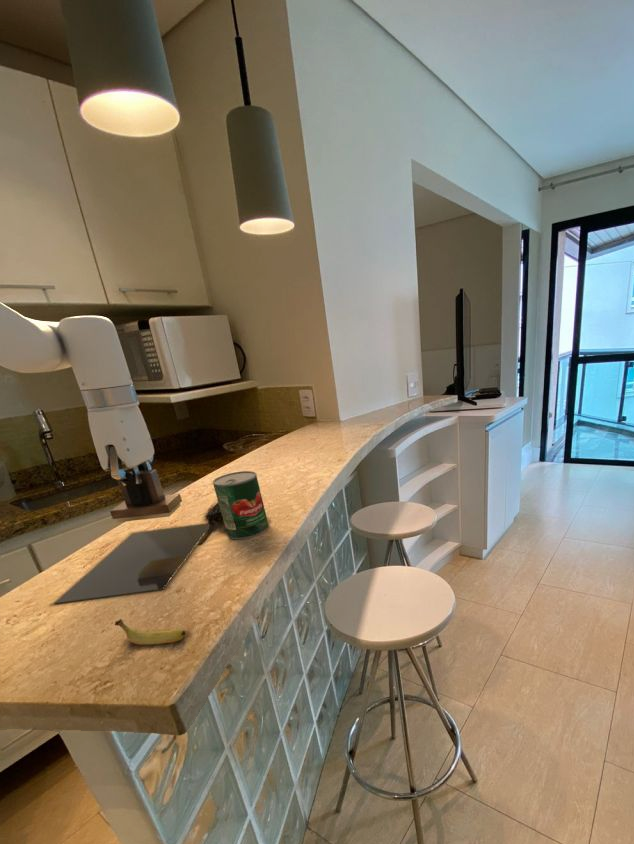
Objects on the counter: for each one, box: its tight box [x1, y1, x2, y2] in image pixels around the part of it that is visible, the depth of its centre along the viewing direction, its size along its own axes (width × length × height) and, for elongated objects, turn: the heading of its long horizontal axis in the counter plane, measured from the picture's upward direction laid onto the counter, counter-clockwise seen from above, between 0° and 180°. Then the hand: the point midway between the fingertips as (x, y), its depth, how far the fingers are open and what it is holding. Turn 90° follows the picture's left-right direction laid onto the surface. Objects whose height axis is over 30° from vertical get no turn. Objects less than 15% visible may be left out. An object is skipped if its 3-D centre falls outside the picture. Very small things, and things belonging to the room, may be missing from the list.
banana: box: [114, 618, 186, 646], centre depth 49 cm, size 8×2×4 cm, turn 87°
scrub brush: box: [109, 468, 183, 523], centre depth 74 cm, size 10×6×8 cm, turn 94°
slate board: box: [53, 522, 214, 605], centre depth 72 cm, size 16×24×1 cm, turn 4°
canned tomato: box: [212, 470, 270, 541], centre depth 78 cm, size 8×8×11 cm
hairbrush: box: [205, 498, 223, 521], centre depth 94 cm, size 8×4×25 cm
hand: (146, 500), depth 75 cm, fingers closed on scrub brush, 2 cm apart
